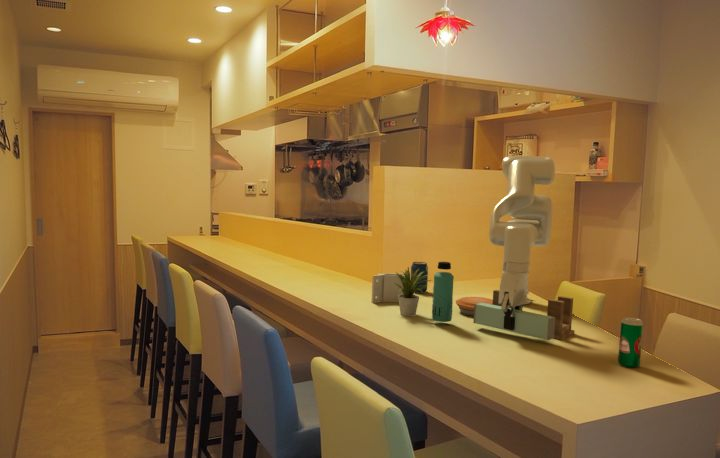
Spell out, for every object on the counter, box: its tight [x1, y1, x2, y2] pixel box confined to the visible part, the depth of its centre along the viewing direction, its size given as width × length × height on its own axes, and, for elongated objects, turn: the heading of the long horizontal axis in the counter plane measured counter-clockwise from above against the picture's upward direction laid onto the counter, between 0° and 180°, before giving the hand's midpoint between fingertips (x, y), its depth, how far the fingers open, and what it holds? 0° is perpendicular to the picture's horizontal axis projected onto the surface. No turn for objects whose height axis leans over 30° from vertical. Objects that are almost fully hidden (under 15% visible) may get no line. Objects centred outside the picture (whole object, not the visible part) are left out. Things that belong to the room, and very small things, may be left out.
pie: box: [455, 296, 493, 317], centre depth 192 cm, size 15×16×5 cm
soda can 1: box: [410, 261, 429, 294], centre depth 225 cm, size 7×7×12 cm
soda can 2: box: [617, 316, 644, 369], centre depth 140 cm, size 5×5×12 cm
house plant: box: [392, 266, 432, 317], centre depth 184 cm, size 14×14×16 cm
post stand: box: [492, 289, 576, 341], centre depth 173 cm, size 10×24×11 cm, turn 49°
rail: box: [473, 302, 555, 341], centre depth 164 cm, size 4×24×6 cm, turn 49°
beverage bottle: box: [431, 261, 454, 323], centre depth 174 cm, size 6×7×20 cm
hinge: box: [371, 273, 405, 304], centre depth 206 cm, size 14×5×10 cm, turn 106°
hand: (512, 327), depth 164 cm, fingers closed on rail, 3 cm apart
